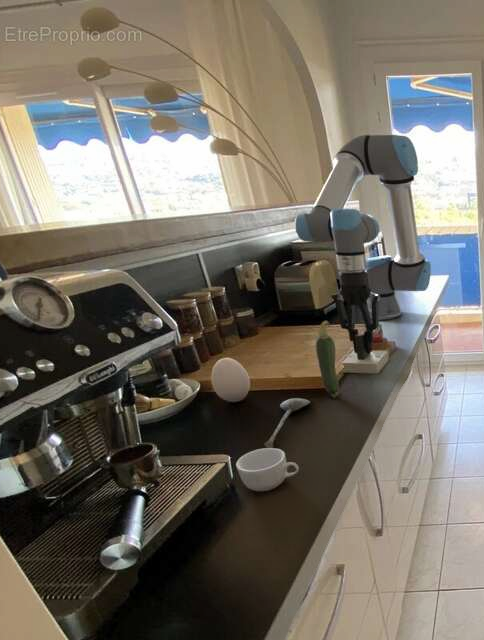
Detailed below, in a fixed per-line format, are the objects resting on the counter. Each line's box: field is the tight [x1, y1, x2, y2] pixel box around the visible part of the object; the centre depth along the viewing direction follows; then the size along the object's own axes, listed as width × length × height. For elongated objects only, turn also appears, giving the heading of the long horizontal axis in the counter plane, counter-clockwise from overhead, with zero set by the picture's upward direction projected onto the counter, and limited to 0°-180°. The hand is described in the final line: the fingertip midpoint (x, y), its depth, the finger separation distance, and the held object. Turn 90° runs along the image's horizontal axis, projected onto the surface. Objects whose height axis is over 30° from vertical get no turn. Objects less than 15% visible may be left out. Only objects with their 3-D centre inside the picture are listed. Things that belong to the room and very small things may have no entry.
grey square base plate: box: [339, 350, 390, 374], centre depth 133 cm, size 11×11×3 cm
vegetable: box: [315, 320, 340, 399], centre depth 111 cm, size 4×4×20 cm
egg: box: [210, 357, 251, 403], centre depth 109 cm, size 8×8×11 cm
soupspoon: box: [263, 397, 311, 448], centre depth 101 cm, size 22×3×7 cm
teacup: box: [235, 447, 300, 492], centre depth 80 cm, size 10×8×5 cm
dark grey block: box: [355, 330, 370, 360], centre depth 131 cm, size 6×2×7 cm, turn 176°
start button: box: [372, 333, 384, 343], centre depth 142 cm, size 4×4×2 cm
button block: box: [371, 336, 397, 357], centre depth 144 cm, size 10×9×4 cm
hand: (363, 351), depth 132 cm, fingers open, 3 cm apart
